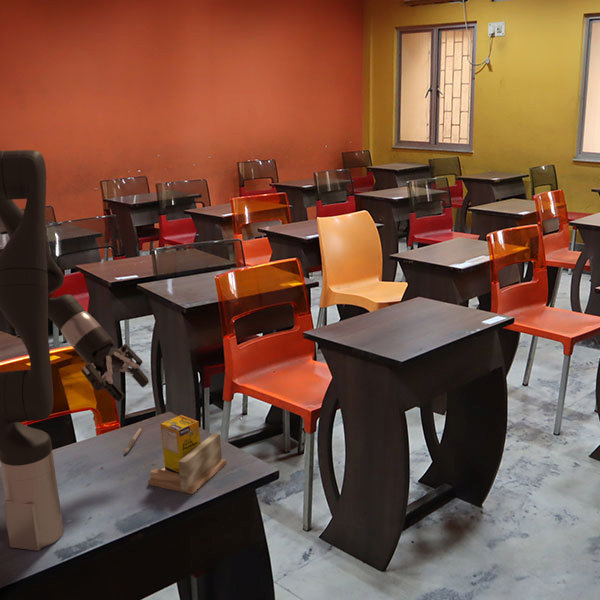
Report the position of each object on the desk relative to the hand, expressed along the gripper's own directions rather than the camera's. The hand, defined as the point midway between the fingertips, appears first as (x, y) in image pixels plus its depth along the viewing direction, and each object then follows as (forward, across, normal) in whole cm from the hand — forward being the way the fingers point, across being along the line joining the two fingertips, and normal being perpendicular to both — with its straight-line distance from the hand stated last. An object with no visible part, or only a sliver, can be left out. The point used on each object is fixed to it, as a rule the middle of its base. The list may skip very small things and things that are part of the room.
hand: (134, 391), depth 166 cm
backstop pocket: (+20, 0, +4) cm, 21 cm away
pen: (+7, +9, +19) cm, 22 cm away
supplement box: (+20, 0, +4) cm, 20 cm away
